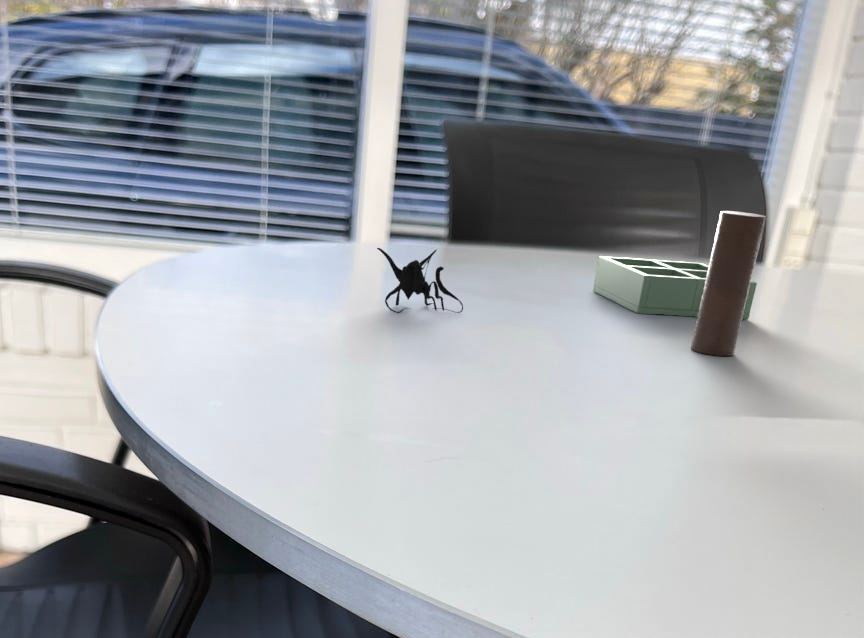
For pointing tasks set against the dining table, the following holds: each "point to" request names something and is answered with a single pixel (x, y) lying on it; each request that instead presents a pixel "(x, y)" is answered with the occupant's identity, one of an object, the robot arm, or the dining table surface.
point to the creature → (417, 282)
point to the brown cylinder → (727, 282)
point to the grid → (656, 285)
